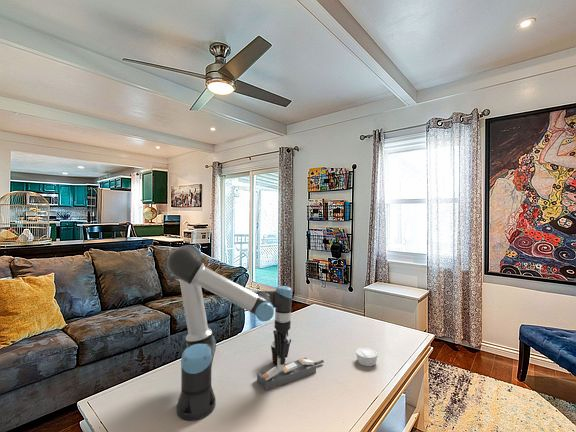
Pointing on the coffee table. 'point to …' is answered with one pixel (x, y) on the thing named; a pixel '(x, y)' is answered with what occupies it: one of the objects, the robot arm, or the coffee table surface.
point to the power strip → (287, 375)
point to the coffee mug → (274, 354)
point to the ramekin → (366, 356)
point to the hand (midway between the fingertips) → (280, 370)
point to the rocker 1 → (270, 373)
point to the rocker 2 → (289, 367)
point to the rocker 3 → (306, 361)
